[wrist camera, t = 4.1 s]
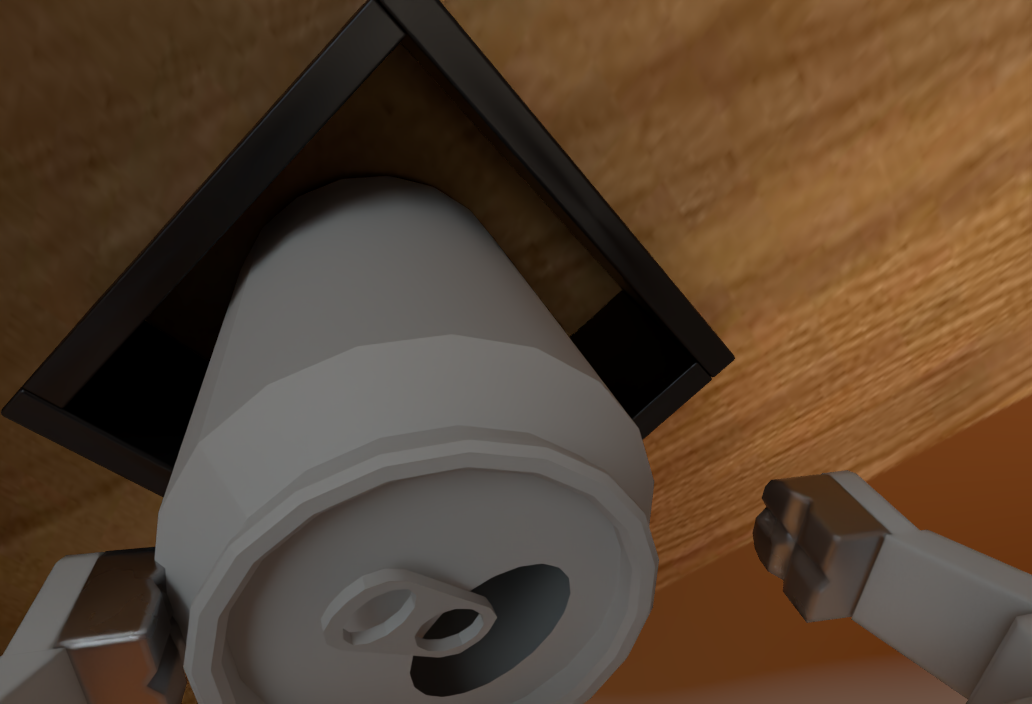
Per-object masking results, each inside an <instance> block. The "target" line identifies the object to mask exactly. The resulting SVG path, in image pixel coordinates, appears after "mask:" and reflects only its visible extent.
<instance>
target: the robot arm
mask: <svg viewBox="0 0 1032 704" xmlns="http://www.w3.org/2000/svg"><path fill="white" fill-rule="evenodd" d="M762 500H763V501H764V503H765V505H766V508H765V509H764V510H763V511H762V512H761V513H760V514H759V515H758V516H757V517H756V520H755V524H754V529H753V539H754V546H755V550H756V552H757V555H758V557H759V559H760V561H761V562H762V563H763V565H764V566H765V568H766V569H767V571H769V572H770V573H772V574H774V575H776V576H777V577H779V578H781V579H783V592H784V593H785V595H786V596H787V597H788V598H789V600H790V601H791V603H792V604H793V605H794V606H795V608H796V609H797V610H798V612H799V613H800V614H801V616H802V617H803V618H804V620H805V621H806V622H807V623H808V622H815V621H823V620H830V619H837V618H845V617H852V620H853V621H855V622H856V623H858V624H859V625H861V626H862V627H863V628H865V629H866V630H868V631H869V632H871V633H872V634H874V635H875V636H876V637H878V638H880V639H881V640H882V641H884V642H885V643H887V644H888V645H890V646H891V647H893V648H894V649H895V650H897V651H898V652H900V653H901V654H903V655H904V656H906V657H907V658H909V659H910V660H911V661H913V662H914V663H916V664H917V665H919V666H920V667H922V668H923V669H924V670H926V671H927V672H929V673H930V674H932V675H933V676H935V677H936V678H938V679H939V680H940V681H942V682H943V683H945V684H946V685H948V686H949V687H951V688H952V689H954V690H955V691H956V692H958V693H959V694H961V695H962V696H964V697H965V698H967V699H968V701H967V703H966V704H1032V575H1030V574H1028V573H1026V572H1023V571H1021V570H1019V569H1017V568H1014V567H1012V566H1010V565H1007V564H1005V563H1003V562H1001V561H998V560H996V559H994V558H992V557H989V556H987V555H985V554H982V553H980V552H978V551H975V550H973V549H971V548H968V547H966V546H964V545H962V544H959V543H957V542H955V541H952V540H950V539H948V538H946V537H943V536H941V535H939V534H936V533H934V532H932V531H929V530H921V531H920V530H919V529H918V528H916V527H915V526H914V525H913V524H912V523H911V522H910V521H909V520H908V519H907V518H905V517H904V516H903V515H902V514H901V513H900V512H899V511H898V510H896V509H895V508H894V507H893V506H892V505H891V504H890V503H889V502H887V501H886V500H885V499H884V498H883V497H882V496H881V495H880V494H878V493H877V492H876V491H875V490H874V489H873V488H872V487H871V486H870V485H868V484H867V483H866V482H865V481H864V480H863V479H862V478H861V477H860V476H858V475H857V474H855V473H853V472H850V471H848V470H845V471H837V472H830V473H822V474H820V475H819V474H817V475H808V476H800V477H791V478H783V479H775V480H771V481H770V482H769V483H768V484H767V485H766V486H765V489H764V492H763V495H762ZM155 548H156V547H148V548H137V549H126V550H114V551H106V552H100V553H88V554H77V555H66V556H65V557H63V558H62V559H61V560H59V561H58V562H57V563H56V564H55V565H54V567H53V569H52V571H51V572H50V574H49V576H48V577H47V579H46V581H45V583H44V584H43V586H42V588H41V590H40V591H39V593H38V595H37V597H36V598H35V600H34V602H33V603H32V605H31V607H30V609H29V610H28V612H27V614H26V616H25V617H24V619H23V621H22V623H21V624H20V626H19V628H18V629H17V631H16V633H15V635H14V636H13V638H12V640H11V642H10V643H9V645H8V647H7V649H6V650H5V652H4V654H3V655H2V656H0V704H181V702H182V698H183V695H184V691H185V687H186V684H187V681H186V677H185V674H184V670H183V665H184V658H185V650H186V644H185V641H184V638H183V636H182V633H181V630H180V627H179V625H178V623H177V622H176V620H175V619H174V617H173V616H172V615H173V613H174V611H173V609H172V606H171V603H170V600H169V598H168V595H167V588H166V571H165V568H164V567H163V566H162V565H160V564H159V563H158V562H156V561H155Z"/></svg>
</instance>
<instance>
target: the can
mask: <svg viewBox="0 0 1032 704" xmlns="http://www.w3.org/2000/svg"><path fill="white" fill-rule="evenodd" d="M653 488H654V480H653V476H652V472H651V469H650V465H649V462H648V458H647V455H646V451H645V448H644V444H643V441H642V437H641V434H640V430H639V428H638V427H637V426H636V424H635V423H634V422H633V420H632V419H631V418H630V416H629V415H628V414H627V412H626V411H625V410H624V408H623V407H622V406H621V405H620V403H619V402H618V401H617V399H616V398H615V397H614V395H613V394H612V393H611V391H610V390H609V389H608V388H607V386H606V385H605V384H604V382H603V381H602V380H601V378H600V377H599V376H598V374H597V373H596V372H595V371H594V369H593V368H592V367H591V365H590V364H589V363H588V361H587V360H586V359H585V357H584V356H583V355H582V354H581V352H580V351H579V350H578V348H577V347H576V346H575V344H574V343H573V342H572V340H571V339H570V338H569V337H568V335H567V334H566V333H565V331H564V330H563V329H562V327H561V326H560V325H559V323H558V322H557V321H556V319H555V318H554V317H553V316H552V314H551V313H550V312H549V310H548V309H547V308H546V306H545V305H544V304H543V302H542V301H541V300H540V299H539V297H538V296H537V295H536V293H535V292H534V291H533V289H532V288H531V287H530V285H529V284H528V283H527V282H526V280H525V279H524V278H523V276H522V275H521V274H520V272H519V271H518V270H517V268H516V267H515V266H514V265H513V263H512V262H511V261H510V259H509V258H508V257H507V255H506V254H505V253H504V251H503V250H502V249H501V248H500V246H499V245H498V244H497V242H496V241H495V240H494V239H493V237H492V236H491V235H490V234H489V232H488V231H487V230H486V229H485V228H484V226H483V225H482V224H481V223H480V221H479V220H478V219H477V218H476V217H475V215H474V214H473V213H472V212H471V211H470V210H469V209H468V208H466V207H465V206H463V205H461V204H460V203H458V202H457V201H455V200H453V199H452V198H450V197H449V196H447V195H445V194H444V193H442V192H441V191H439V190H437V189H436V188H434V187H432V186H428V185H423V184H419V183H415V182H411V181H407V180H403V179H399V178H395V177H391V176H380V177H365V178H351V179H341V180H338V181H336V182H333V183H331V184H328V185H326V186H323V187H321V188H319V189H316V190H314V191H311V192H309V193H306V194H304V195H301V196H299V197H297V198H296V199H295V200H294V201H292V202H291V203H290V204H289V205H288V206H287V207H286V208H285V209H283V210H282V211H281V212H280V213H279V214H278V215H277V216H275V217H274V218H273V219H272V220H271V221H270V222H269V223H267V224H266V225H265V226H264V227H263V228H262V230H261V232H260V234H259V236H258V238H257V239H256V241H255V243H254V245H253V247H252V249H251V250H250V252H249V254H248V256H247V258H246V260H245V262H244V263H243V265H242V268H241V271H240V274H239V277H238V280H237V283H236V286H235V288H234V291H233V294H232V297H231V300H230V303H229V306H228V309H227V312H226V315H225V318H224V321H223V324H222V327H221V330H220V333H219V336H218V339H217V342H216V345H215V348H214V351H213V354H212V356H211V359H210V362H209V365H208V368H207V371H206V374H205V377H204V380H203V383H202V386H201V389H200V392H199V395H198V398H197V401H196V404H195V407H194V410H193V413H192V416H191V419H190V421H189V424H188V427H187V430H186V433H185V436H184V439H183V442H182V445H181V448H180V451H179V454H178V457H177V460H176V463H175V466H174V469H173V472H172V475H171V478H170V481H169V484H168V486H167V489H166V492H165V495H164V498H163V501H162V504H161V507H160V510H159V514H158V526H157V537H156V548H155V561H156V562H158V563H159V564H160V565H162V566H163V567H164V568H165V571H166V588H167V595H168V598H169V600H170V603H171V606H172V609H173V611H174V613H173V615H172V616H173V617H174V619H175V620H176V622H177V623H178V625H179V627H180V630H181V633H182V636H183V638H184V641H185V644H186V650H185V658H184V667H183V668H184V670H185V672H186V675H187V677H188V680H189V682H190V685H191V687H192V689H193V692H194V694H195V697H196V699H197V702H198V704H584V703H585V702H586V701H587V700H589V699H590V698H591V697H592V696H593V695H594V694H595V693H596V691H597V690H598V689H599V688H600V687H601V686H602V685H603V684H604V683H605V681H606V680H607V679H608V678H609V677H610V676H611V675H612V674H613V673H614V672H615V670H616V669H617V668H618V667H619V666H620V665H621V664H622V663H623V662H624V660H625V659H626V658H627V656H628V655H629V653H630V651H631V649H632V647H633V645H634V643H635V641H636V639H637V637H638V635H639V633H640V631H641V629H642V627H643V625H644V624H645V622H646V620H647V618H648V616H649V614H650V612H651V610H652V608H653V601H654V594H655V586H656V579H657V571H658V563H659V558H658V555H657V551H656V548H655V545H654V542H653V538H652V535H651V532H650V529H649V523H650V514H651V505H652V497H653Z"/></svg>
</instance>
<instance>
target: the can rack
mask: <svg viewBox="0 0 1032 704" xmlns="http://www.w3.org/2000/svg"><path fill="white" fill-rule="evenodd" d="M399 43H401V44H402V45H403V46H404V47H405V48H406V49H407V50H408V51H409V53H410V54H411V55H412V56H413V57H414V58H415V59H416V60H417V61H418V63H419V64H420V65H421V66H422V67H423V68H424V69H425V70H426V71H427V73H428V74H429V75H430V76H431V77H432V78H433V79H434V80H435V81H436V83H437V84H438V85H439V86H440V87H441V88H442V89H443V90H444V91H445V93H446V94H447V95H448V96H449V97H450V98H451V99H452V100H453V101H454V103H455V104H456V105H457V106H458V107H459V108H460V109H461V110H462V111H463V113H464V114H465V115H466V116H467V117H468V118H469V119H470V120H471V121H472V123H473V124H474V125H475V126H476V127H477V128H478V129H479V130H480V131H481V133H482V134H483V135H484V136H485V137H486V138H487V139H488V140H489V141H490V143H491V144H492V145H493V146H494V147H495V148H496V149H497V150H498V151H499V153H500V154H501V155H502V156H503V157H504V158H505V159H506V160H507V161H508V163H509V164H510V165H511V166H512V167H513V168H514V169H515V170H516V171H517V173H518V174H519V175H520V176H521V177H522V178H523V179H524V180H525V181H526V183H527V184H528V185H529V186H530V187H531V188H532V189H533V190H534V191H535V193H536V194H537V195H538V196H539V197H540V198H541V199H542V200H543V201H544V203H545V204H546V205H547V206H548V207H549V208H550V209H551V210H552V211H553V213H554V214H555V215H556V216H557V217H558V218H559V219H560V220H561V221H562V223H563V224H564V225H565V226H566V227H567V228H568V229H569V230H570V231H571V233H572V234H573V235H574V236H575V237H576V238H577V239H578V240H579V241H580V243H581V244H582V245H583V246H584V247H585V248H586V249H587V250H588V251H589V253H590V254H591V255H592V256H593V257H594V258H595V259H596V260H597V261H598V263H599V264H600V265H601V266H602V267H603V268H604V269H605V270H606V271H607V273H608V274H609V275H610V276H611V277H612V278H613V279H614V280H615V281H616V283H617V284H618V285H619V286H620V287H621V288H622V289H623V290H624V291H623V290H622V291H621V292H620V293H618V294H617V295H616V296H615V297H614V298H613V299H612V300H611V301H610V302H609V303H608V304H607V305H605V306H604V307H603V308H602V309H601V310H600V311H599V312H598V313H597V314H596V315H595V316H593V317H592V318H591V319H590V320H589V321H588V322H587V323H586V324H585V325H584V326H583V327H582V328H580V329H579V330H578V331H577V332H576V333H575V334H574V335H573V336H572V337H571V338H570V339H571V340H572V342H573V343H574V344H575V346H576V347H577V348H578V350H579V351H580V352H581V354H582V355H583V356H584V357H585V359H586V360H587V361H588V363H589V364H590V365H591V367H592V368H593V369H594V371H595V372H596V373H597V374H598V376H599V377H600V378H601V380H602V381H603V382H604V384H605V385H606V386H607V388H608V389H609V390H610V391H611V393H612V394H613V395H614V397H615V398H616V399H617V401H618V402H619V403H620V405H621V406H622V407H623V408H624V410H625V411H626V412H627V414H628V415H629V416H630V418H631V419H632V420H633V422H634V423H635V424H636V426H637V427H638V428H639V430H640V434H641V437H642V440H643V439H644V438H645V437H646V436H647V435H649V434H650V433H651V432H652V431H653V430H654V429H656V428H657V427H658V426H659V425H660V424H661V423H662V422H664V421H665V420H666V419H667V418H668V417H669V416H671V415H672V414H673V413H674V412H675V411H676V410H677V409H679V408H680V407H681V406H682V405H683V404H684V403H686V402H687V401H688V400H689V399H690V398H691V397H693V396H694V395H695V394H696V393H697V392H698V391H699V390H701V389H702V388H703V387H704V386H705V385H706V384H708V383H709V382H710V381H711V380H712V378H711V377H715V376H716V375H717V374H718V373H720V372H721V371H722V370H723V369H724V368H725V367H726V366H728V365H729V364H730V363H731V362H732V361H733V360H734V359H735V357H734V355H733V354H732V352H731V351H730V350H729V349H728V348H727V346H726V345H725V344H724V343H723V342H722V340H721V339H720V338H719V337H718V336H717V334H716V333H715V332H714V331H713V330H712V328H711V327H710V326H709V325H708V324H707V322H706V321H705V320H704V319H703V317H702V316H701V315H700V314H699V313H698V311H697V310H696V309H695V308H694V307H693V305H692V304H691V303H690V302H689V301H688V299H687V298H686V297H685V296H684V295H683V293H682V292H681V291H680V290H679V289H678V287H677V286H676V285H675V284H674V283H673V281H672V280H671V279H670V278H669V277H668V275H667V274H666V273H665V272H664V270H663V269H662V268H661V267H660V266H659V264H658V263H657V262H656V261H655V260H654V258H653V257H652V256H651V255H650V254H649V252H648V251H647V250H646V249H645V248H644V246H643V245H642V244H641V243H640V242H639V240H638V239H637V238H636V237H635V236H634V234H633V233H632V232H631V231H630V230H629V228H628V227H627V226H626V225H625V223H624V222H623V221H622V220H621V219H620V217H619V216H618V215H617V214H616V213H615V211H614V210H613V209H612V208H611V207H610V205H609V204H608V203H607V202H606V201H605V199H604V198H603V197H602V196H601V195H600V193H599V192H598V191H597V190H596V189H595V187H594V186H593V185H592V184H591V183H590V181H589V180H588V179H587V178H586V176H585V175H584V174H583V173H582V172H581V170H580V169H579V168H578V167H577V166H576V164H575V163H574V162H573V161H572V160H571V158H570V157H569V156H568V155H567V154H566V152H565V151H564V150H563V149H562V148H561V146H560V145H559V144H558V143H557V142H556V140H555V139H554V138H553V137H552V136H551V134H550V133H549V132H548V131H547V129H546V128H545V127H544V126H543V125H542V123H541V122H540V121H539V120H538V119H537V117H536V116H535V115H534V114H533V113H532V111H531V110H530V109H529V108H528V107H527V105H526V104H525V103H524V102H523V101H522V99H521V98H520V97H519V96H518V95H517V93H516V92H515V91H514V90H513V89H512V87H511V86H510V85H509V84H508V82H507V81H506V80H505V79H504V78H503V76H502V75H501V74H500V73H499V72H498V70H497V69H496V68H495V67H494V66H493V64H492V63H491V62H490V61H489V60H488V58H487V57H486V56H485V55H484V54H483V52H482V51H481V50H480V49H479V48H478V46H477V45H476V44H475V43H474V42H473V40H472V39H471V38H470V37H469V35H468V34H467V33H466V32H465V31H464V29H463V28H462V27H461V26H460V25H459V23H458V22H457V21H456V20H455V19H454V17H453V16H452V15H451V14H450V13H449V11H448V10H447V9H446V8H445V7H444V5H443V4H442V3H441V2H440V1H439V0H367V1H366V2H365V3H364V4H363V5H362V6H361V7H360V8H359V9H358V10H357V12H356V13H355V14H354V15H353V16H352V17H351V18H350V19H349V20H348V22H347V23H346V24H345V25H344V26H343V27H342V28H341V29H340V31H339V32H338V33H337V34H336V35H335V36H334V37H333V38H332V39H331V41H330V42H329V43H328V44H327V45H326V46H325V47H324V48H323V49H322V51H321V52H320V53H319V54H318V55H317V56H316V57H315V58H314V60H313V61H312V62H311V63H310V64H309V65H308V66H307V67H306V68H305V70H304V71H303V72H302V73H301V74H300V75H299V76H298V77H297V78H296V80H295V81H294V82H293V83H292V84H291V85H290V86H289V87H288V89H287V90H286V91H285V92H284V93H283V94H282V95H281V96H280V97H279V99H278V100H277V101H276V102H275V103H274V104H273V105H272V106H271V108H270V109H269V110H268V111H267V112H266V113H265V114H264V115H263V116H262V118H261V119H260V120H259V121H258V122H257V123H256V124H255V125H254V126H253V128H252V129H251V130H250V131H249V132H248V133H247V134H246V135H245V137H244V138H243V139H242V140H241V141H240V142H239V143H238V144H237V145H236V147H235V148H234V149H233V150H232V151H231V152H230V153H229V154H228V155H227V157H226V158H225V159H224V160H223V161H222V162H221V163H220V164H219V166H218V167H217V168H216V169H215V170H214V171H213V172H212V173H211V174H210V176H209V177H208V178H207V179H206V180H205V181H204V182H203V183H202V184H201V186H200V187H199V188H198V189H197V190H196V191H195V192H194V193H193V195H192V196H191V197H190V198H189V199H188V200H187V201H186V202H185V203H184V205H183V206H182V207H181V208H180V209H179V210H178V211H177V212H176V213H175V215H174V216H173V217H172V218H171V219H170V220H169V221H168V222H167V224H166V225H165V226H164V227H163V228H162V229H161V230H160V231H159V232H158V234H157V235H156V236H155V237H154V238H153V239H152V240H151V241H150V243H149V244H148V245H147V246H146V247H145V248H144V249H143V250H142V251H141V253H140V254H139V255H138V256H137V257H136V258H135V259H134V260H133V261H132V263H131V264H130V265H129V266H128V267H127V268H126V269H125V270H124V272H123V273H122V274H121V275H120V276H119V277H118V278H117V279H116V280H115V282H114V283H113V284H112V285H111V286H110V287H109V288H108V289H107V290H106V292H105V293H104V294H103V295H102V296H101V297H100V298H99V299H98V301H97V302H96V303H95V304H94V305H93V306H92V307H91V308H90V309H89V311H88V312H87V313H86V314H85V315H84V316H83V317H82V319H81V320H80V321H79V322H78V323H77V324H76V325H75V327H74V328H73V329H72V330H71V331H70V332H69V333H68V334H67V336H66V337H65V338H64V339H63V340H62V341H61V342H60V344H59V345H58V346H57V347H56V348H55V349H54V350H53V352H52V353H51V354H50V355H49V356H48V357H47V358H46V360H45V361H44V362H43V363H42V364H41V365H40V366H39V368H38V369H37V370H36V371H35V372H34V373H33V374H32V376H31V377H30V378H29V379H28V380H27V381H26V382H25V383H24V385H23V386H22V387H21V388H20V389H19V390H18V391H17V393H16V394H15V395H14V396H13V397H12V398H11V399H10V401H9V402H8V403H7V404H6V405H5V406H4V407H3V409H2V411H1V414H2V415H3V416H4V417H6V418H8V419H10V420H12V421H14V422H16V423H18V424H20V425H22V426H24V427H26V428H28V429H30V430H32V431H33V432H35V433H37V434H39V435H41V436H43V437H45V438H47V439H49V440H51V441H53V442H55V443H57V444H59V445H61V446H63V447H65V448H67V449H69V450H71V451H73V452H75V453H77V454H79V455H81V456H83V457H85V458H87V459H89V460H91V461H93V462H95V463H97V464H99V465H101V466H103V467H105V468H107V469H109V470H110V471H112V472H114V473H116V474H118V475H120V476H122V477H124V478H126V479H128V480H130V481H132V482H134V483H136V484H138V485H140V486H142V487H144V488H146V489H148V490H150V491H152V492H154V493H156V494H158V495H160V496H162V497H164V495H165V492H166V489H167V486H168V484H169V481H170V478H171V475H172V472H173V469H174V466H175V463H176V460H177V457H178V454H179V451H180V448H181V445H182V442H183V439H184V436H185V433H186V430H187V427H188V424H189V421H190V419H191V416H192V413H193V410H194V407H195V404H196V401H197V398H198V395H199V392H200V389H201V386H202V383H203V380H204V377H205V374H206V371H207V368H208V365H209V361H208V360H206V359H204V358H203V357H201V356H200V355H198V354H197V353H195V352H194V351H192V350H190V349H189V348H187V347H186V346H184V345H183V344H181V343H180V342H178V341H177V340H175V339H173V338H172V337H170V336H169V335H167V334H166V333H164V332H163V331H161V330H159V329H158V328H156V327H155V326H153V325H152V324H150V323H149V322H147V321H146V320H145V319H146V318H147V317H148V316H149V315H150V314H151V313H152V312H153V311H154V310H155V308H156V307H157V306H158V305H159V304H160V303H161V302H162V301H163V300H164V299H165V298H166V297H167V295H168V294H169V293H170V292H171V291H172V290H173V289H174V288H175V287H176V286H177V285H178V283H179V282H180V281H181V280H182V279H183V278H184V277H185V276H186V275H187V274H188V273H189V272H190V270H191V269H192V268H193V267H194V266H195V265H196V264H197V263H198V262H199V261H200V260H201V259H202V257H203V256H204V255H205V254H206V253H207V252H208V251H209V250H210V249H211V248H212V247H213V245H214V244H215V243H216V242H217V241H218V240H219V239H220V238H221V237H222V236H223V235H224V234H225V232H226V231H227V230H228V229H229V228H230V227H231V226H232V225H233V224H234V223H235V222H236V220H237V219H238V218H239V217H240V216H241V215H242V214H243V213H244V212H245V211H246V210H247V209H248V207H249V206H250V205H251V204H252V203H253V202H254V201H255V200H256V199H257V198H258V197H259V195H260V194H261V193H262V192H263V191H264V190H265V189H266V188H267V187H268V186H269V185H270V184H271V182H272V181H273V180H274V179H275V178H276V177H277V176H278V175H279V174H280V173H281V172H282V170H283V169H284V168H285V167H286V166H287V165H288V164H289V163H290V162H291V161H292V160H293V159H294V157H295V156H296V155H297V154H298V153H299V152H300V151H301V150H302V149H303V148H304V147H305V145H306V144H307V143H308V142H309V141H310V140H311V139H312V138H313V137H314V136H315V135H316V134H317V132H318V131H319V130H320V129H321V128H322V127H323V126H324V125H325V124H326V123H327V122H328V121H329V119H330V118H331V117H332V116H333V115H334V114H335V113H336V112H337V111H338V110H339V109H340V107H341V106H342V105H343V104H344V103H345V102H346V101H347V100H348V99H349V98H350V97H351V96H352V94H353V93H354V92H355V91H356V90H357V89H358V88H359V87H360V86H361V85H362V84H363V82H364V81H365V80H366V79H367V78H368V77H369V76H370V75H371V74H372V73H373V72H374V71H375V69H376V68H377V67H378V66H379V65H380V64H381V63H382V62H383V61H384V60H385V59H386V57H387V56H388V55H389V54H390V53H391V52H392V51H393V50H394V49H395V48H396V47H397V46H398V44H399Z"/></svg>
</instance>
